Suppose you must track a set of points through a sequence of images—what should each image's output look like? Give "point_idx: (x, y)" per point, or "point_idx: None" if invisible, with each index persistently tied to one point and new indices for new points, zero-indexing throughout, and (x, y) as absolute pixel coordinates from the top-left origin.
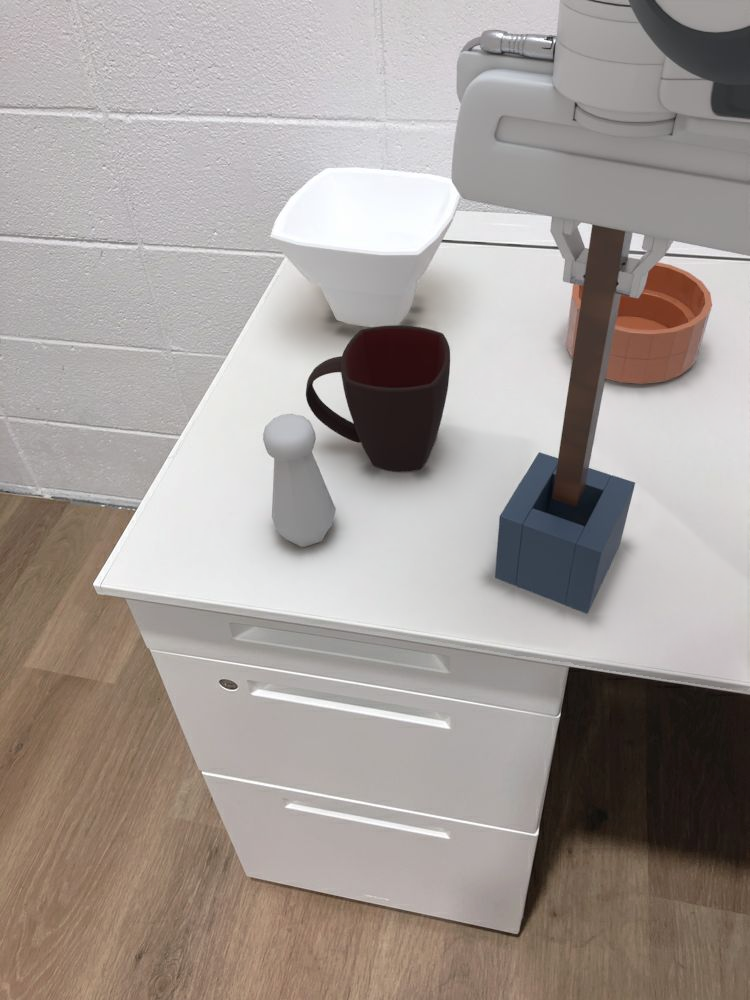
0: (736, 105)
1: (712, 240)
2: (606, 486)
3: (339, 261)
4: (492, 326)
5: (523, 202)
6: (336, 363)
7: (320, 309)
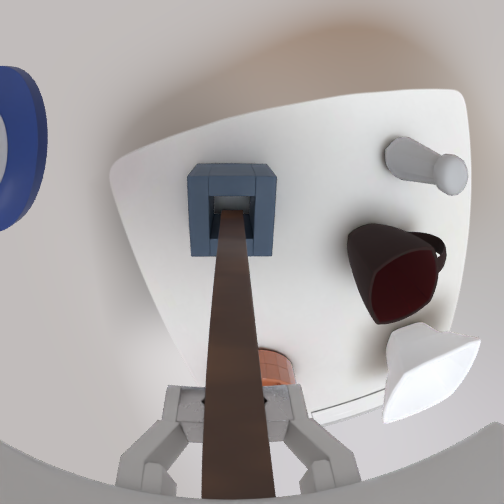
0: None
1: (32, 472)
2: (209, 243)
3: (444, 346)
4: (337, 358)
5: (425, 477)
6: (438, 266)
7: (430, 325)
